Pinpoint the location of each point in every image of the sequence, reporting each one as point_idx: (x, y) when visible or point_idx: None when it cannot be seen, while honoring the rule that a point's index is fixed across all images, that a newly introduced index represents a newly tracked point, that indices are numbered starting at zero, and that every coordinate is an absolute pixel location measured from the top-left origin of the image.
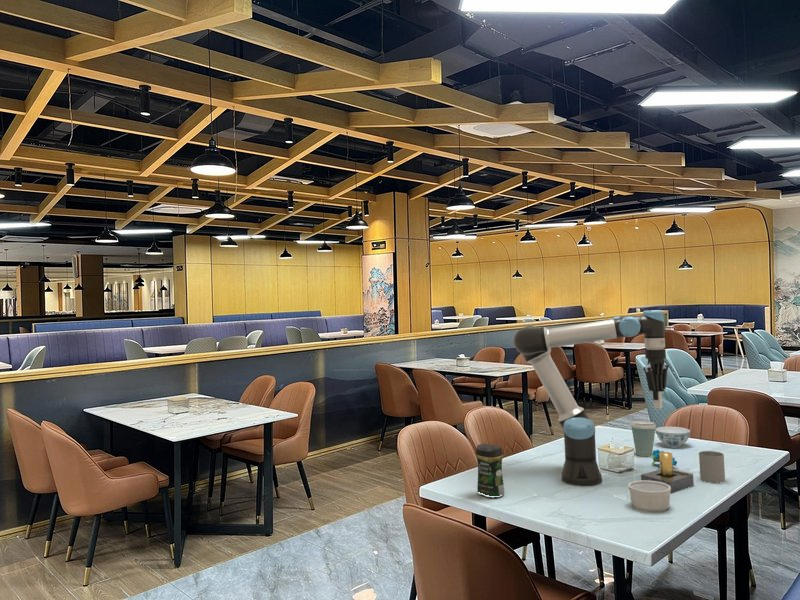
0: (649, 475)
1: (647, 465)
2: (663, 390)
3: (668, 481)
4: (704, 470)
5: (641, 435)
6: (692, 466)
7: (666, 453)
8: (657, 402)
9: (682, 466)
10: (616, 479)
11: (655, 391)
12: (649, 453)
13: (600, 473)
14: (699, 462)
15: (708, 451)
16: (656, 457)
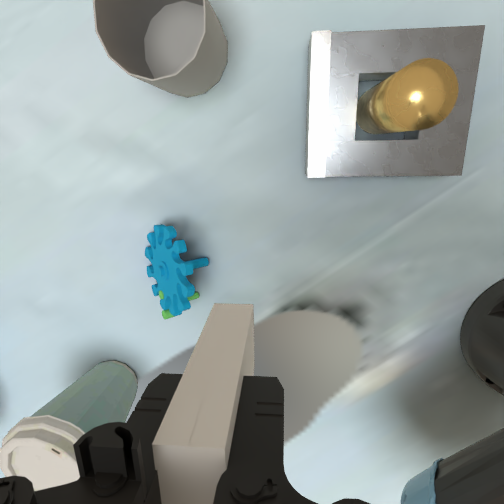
0: (447, 146)
1: (208, 305)
2: (118, 439)
3: (480, 35)
4: (219, 43)
5: (106, 422)
6: (98, 205)
7: (422, 90)
8: (248, 364)
9: (125, 226)
10: (434, 269)
11: (296, 495)
12: (112, 365)
13: (498, 304)
14: (191, 81)
15: (116, 62)
16: (170, 301)
